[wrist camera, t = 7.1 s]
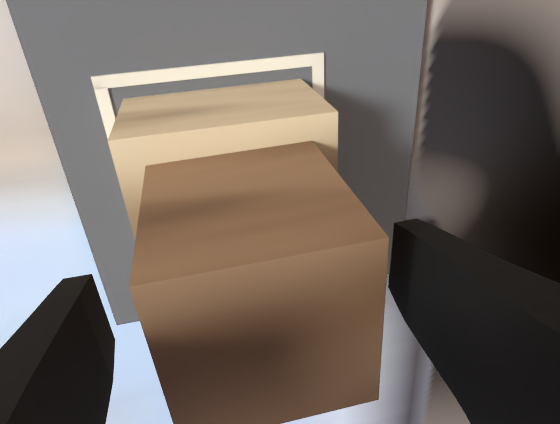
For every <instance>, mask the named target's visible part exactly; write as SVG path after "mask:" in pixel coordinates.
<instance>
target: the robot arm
mask: <svg viewBox="0 0 560 424" xmlns="http://www.w3.org/2000/svg"><path fill="white" fill-rule="evenodd" d="M388 287H389V289H390V291H391V293H392V296H393V298H394V300H395V302H396V304H397V306H398V308H399V310H400V312H401V314H402V316H403V318H404V320H405V322H406V323H407V325H408V327H409V328H410V330H411V331H412V333H413V334H414V336H415V337H416V339H417V340H418V342H419V344H420V345H421V347H422V348H423V350H424V351H425V353H426V354H427V356H428V357H429V359H430V360H431V362H432V363H433V365H434V366H435V368H436V369H437V371H438V372H439V373H440V375H441V377H442V378H443V380H444V381H445V382H446V384H447V385H448V387H449V389H450V390H451V391H452V393H453V394H454V396H455V397H456V399H457V401H458V403H459V404H460V406H461V407H462V409H463V411H464V412H465V414H466V416H467V418H468V420H469V421H470V423H471V424H560V283H558V282H555V281H553V280H550V279H548V278H545V277H543V276H540V275H538V274H536V273H533V272H531V271H529V270H526V269H524V268H521V267H519V266H517V265H514V264H512V263H510V262H508V261H506V260H504V259H501V258H499V257H497V256H495V255H493V254H490V253H489V252H487V251H484V250H482V249H480V248H478V247H476V246H474V245H472V244H470V243H468V242H466V241H464V240H462V239H460V238H458V237H456V236H454V235H452V234H450V233H448V232H446V231H444V230H441V229H439V228H437V227H435V226H433V225H431V224H429V223H426V222H424V221H422V220H419V219H412V220H406V221H400V222H394V228H393V240H392V251H391V262H390V274H389V285H388ZM114 351H115V338H114V336H113V333H112V330H111V327H110V324H109V321H108V319H107V316H106V313H105V310H104V307H103V304H102V302H101V299H100V296H99V293H98V290H97V287H96V285H95V282H94V279H93V276H92V274H89V275H83V276H77V277H71V278H65V279H63V280H62V281H61V282H60V283H59V284H58V285H57V286H56V287H55V288H54V289H53V290H52V291H51V293H50V294H49V295H48V296H47V297H46V298H45V299H44V301H43V302H42V303H41V304H40V305H39V306H38V307H37V309H36V310H35V311H34V312H33V313H32V314H31V315H30V317H29V318H28V319H27V320H26V321H25V322H24V323H23V324H22V325H21V327H20V328H19V329H18V330H17V331H16V332H15V333H14V334H13V335H12V336H11V338H10V339H9V340H8V341H7V342H6V343H5V344H4V345H3V346H2V348H1V349H0V424H105V423H106V417H107V412H108V406H109V401H110V395H111V389H112V383H113V371H114Z"/></svg>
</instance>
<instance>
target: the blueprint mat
mask: <svg viewBox="0 0 560 424" xmlns="http://www.w3.org/2000/svg"><path fill="white" fill-rule="evenodd" d="M427 1H428V0H6V2H7V5H8V8H9V11H10V14H11V17H12V20H13V23H14V26H15V29H16V32H17V35H18V37H19V40H20V43H21V46H22V49H23V52H24V55H25V58H26V61H27V64H28V67H29V70H30V73H31V76H32V78H33V81H34V84H35V87H36V90H37V93H38V96H39V99H40V102H41V105H42V108H43V111H44V114H45V117H46V119H47V122H48V125H49V128H50V131H51V134H52V137H53V140H54V143H55V146H56V149H57V152H58V155H59V158H60V160H61V163H62V166H63V169H64V172H65V175H66V178H67V181H68V184H69V187H70V190H71V193H72V196H73V199H74V201H75V204H76V207H77V210H78V213H79V216H80V219H81V222H82V225H83V228H84V231H85V234H86V237H87V239H88V242H89V245H90V248H91V251H92V254H93V257H94V260H95V263H96V266H97V269H98V272H99V275H100V278H101V280H102V283H103V286H104V289H105V292H106V295H107V298H108V301H109V304H110V307H111V310H112V313H113V316H114V319H115V321H116V324H117V325H120V324H126V323H131V322H136V321H140V319H139V316H138V313H137V310H136V307H135V304H134V301H133V298H132V295H131V292H130V289H129V283H130V276H131V268H132V261H133V254H134V246H135V238H134V235H133V231H132V228H131V224H130V220H129V217H128V213H127V209H126V206H125V202H124V199H123V195H122V191H121V188H120V184H119V180H118V177H117V173H116V170H115V166H114V162H113V159H112V155H111V151H110V148H109V144H108V138H109V135H110V133H111V130H112V127H113V125H114V122H115V119H116V117H117V114H118V111H119V109H120V106H121V103H122V101H123V99H124V98H133V97H142V96H151V95H160V94H168V93H177V92H186V91H195V90H204V89H213V88H222V87H231V86H239V85H248V84H257V83H266V82H275V81H284V80H293V79H302V80H303V81H304V82H305V83H307V84H308V85H309V86H310V87H311V88H312V89H313V90H314V91H316V92H317V93H318V94H319V95H320V96H321V97H322V98H323V99H325V100H326V101H327V102H328V103H329V104H330V105H331V106H332V107H334V108H335V109H336V110H337V111H338V174H339V175H340V176H341V178H342V179H343V180H344V181H345V183H346V184H347V185H348V186H349V188H350V189H351V190H352V191H353V193H354V194H355V195H356V197H357V198H358V199H359V200H360V202H361V203H362V204H363V205H364V207H365V208H366V209H367V210H368V212H369V213H370V214H371V215H372V217H373V218H374V219H375V221H376V222H377V223H378V224H379V226H380V227H381V228H382V229H383V231H384V232H385V233H386V234H387V236H388V237H389V247H388V262H387V274H390V262H391V251H392V240H393V228H394V222H400V221H405V215H406V205H407V195H408V185H409V176H410V166H411V156H412V147H413V137H414V127H415V117H416V108H417V98H418V88H419V79H420V69H421V59H422V49H423V40H424V30H425V20H426V11H427Z"/></svg>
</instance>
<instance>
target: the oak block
mask: <svg viewBox="0 0 560 424" xmlns="http://www.w3.org/2000/svg"><path fill="white" fill-rule="evenodd" d="M306 141H313V142H314V144H315V145H316V146H317V147H318V149H319V150H320V151H321V152H322V154H323V155H324V156H325V157H326V159H327V160H328V161H329V162H330V164H331V165H332V166H333V168H334V169H335V170H336V171H337V173H338V111H337V110H336V109H335V108H334V107H332V106H331V105H330V104H329V103H328V102H327V101H326V100H325V99H323V98H322V97H321V96H320V95H319V94H318V93H317V92H316V91H314V90H313V89H312V88H311V87H310V86H309V85H308V84H307V83H305V82H304V81H303V80H302V79H293V80H284V81H275V82H266V83H257V84H248V85H239V86H231V87H222V88H213V89H204V90H195V91H186V92H177V93H168V94H160V95H151V96H142V97H133V98H124V99H123V101H122V103H121V106H120V109H119V111H118V114H117V117H116V119H115V122H114V125H113V127H112V130H111V133H110V135H109V138H108V144H109V148H110V151H111V155H112V159H113V162H114V166H115V170H116V173H117V177H118V180H119V184H120V188H121V191H122V195H123V199H124V202H125V206H126V209H127V213H128V217H129V220H130V224H131V228H132V231H133V235H134V238H135V239H136V232H137V225H138V217H139V210H140V203H141V195H142V188H143V181H144V173H145V166H147V165H153V164H160V163H167V162H173V161H180V160H187V159H193V158H200V157H207V156H213V155H220V154H227V153H233V152H240V151H246V150H253V149H260V148H266V147H273V146H280V145H286V144H293V143H300V142H306Z"/></svg>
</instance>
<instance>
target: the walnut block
mask: <svg viewBox="0 0 560 424" xmlns="http://www.w3.org/2000/svg"><path fill="white" fill-rule="evenodd" d="M388 247H389V237H388V236H387V234H386V233H385V232H384V231H383V229H382V228H381V227H380V226H379V224H378V223H377V222H376V221H375V219H374V218H373V217H372V215H371V214H370V213H369V212H368V210H367V209H366V208H365V207H364V205H363V204H362V203H361V202H360V200H359V199H358V198H357V197H356V195H355V194H354V193H353V191H352V190H351V189H350V188H349V186H348V185H347V184H346V183H345V181H344V180H343V179H342V178H341V176H340V175H339V174H338V173H337V171H336V170H335V169H334V168H333V166H332V165H331V164H330V162H329V161H328V160H327V159H326V157H325V156H324V155H323V154H322V152H321V151H320V150H319V149H318V147H317V146H316V145H315V144H314V142H313V141H306V142H300V143H293V144H286V145H280V146H273V147H266V148H260V149H253V150H246V151H240V152H233V153H227V154H220V155H213V156H207V157H200V158H193V159H187V160H180V161H173V162H167V163H160V164H153V165H147V166H145V173H144V181H143V188H142V195H141V203H140V210H139V217H138V225H137V232H136V239H135V246H134V254H133V261H132V268H131V276H130V283H129V289H130V292H131V295H132V298H133V301H134V304H135V307H136V310H137V313H138V316H139V319H140V322H141V325H142V329H143V332H144V335H145V338H146V341H147V344H148V347H149V350H150V353H151V356H152V359H153V362H154V365H155V368H156V372H157V375H158V378H159V381H160V384H161V387H162V390H163V393H164V396H165V399H166V402H167V405H168V408H169V412H170V415H171V418H172V421H173V424H281V423H285V422H289V421H293V420H298V419H302V418H306V417H310V416H314V415H318V414H322V413H326V412H330V411H334V410H338V409H342V408H346V407H350V406H354V405H359V404H363V403H367V402H371V401H375V400H378V399H379V383H380V368H381V353H382V338H383V323H384V308H385V293H386V277H387V262H388Z"/></svg>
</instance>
